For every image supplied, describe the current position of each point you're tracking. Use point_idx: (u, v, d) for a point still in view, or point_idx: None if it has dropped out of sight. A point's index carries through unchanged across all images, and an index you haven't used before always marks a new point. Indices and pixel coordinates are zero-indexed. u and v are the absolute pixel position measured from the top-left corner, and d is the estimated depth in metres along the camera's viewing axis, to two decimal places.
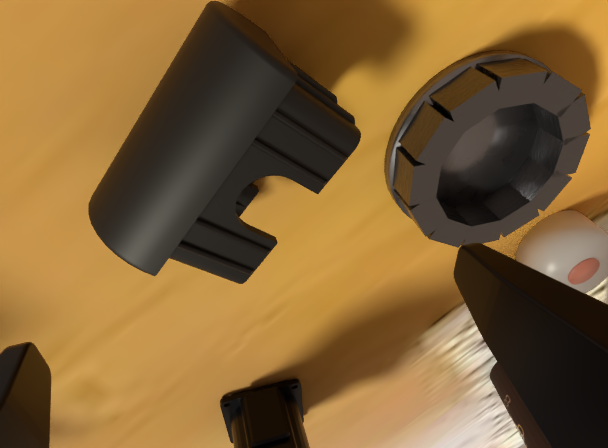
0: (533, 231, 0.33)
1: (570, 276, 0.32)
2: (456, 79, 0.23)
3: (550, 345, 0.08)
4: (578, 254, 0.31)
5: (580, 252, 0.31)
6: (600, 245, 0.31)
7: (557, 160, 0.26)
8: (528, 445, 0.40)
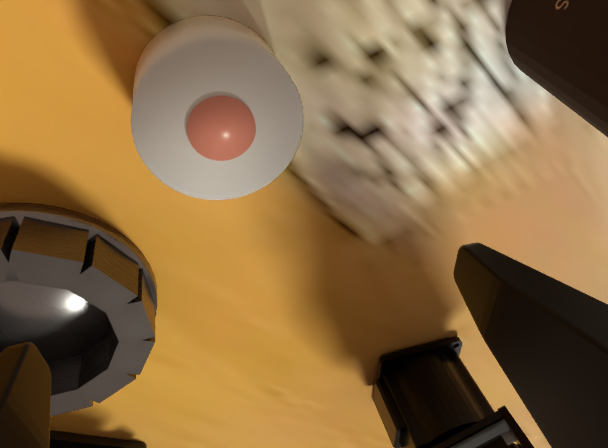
0: None
1: (229, 158, 0.17)
2: None
3: (550, 345, 0.08)
4: (175, 163, 0.16)
5: (170, 161, 0.16)
6: (152, 123, 0.15)
7: None
8: None
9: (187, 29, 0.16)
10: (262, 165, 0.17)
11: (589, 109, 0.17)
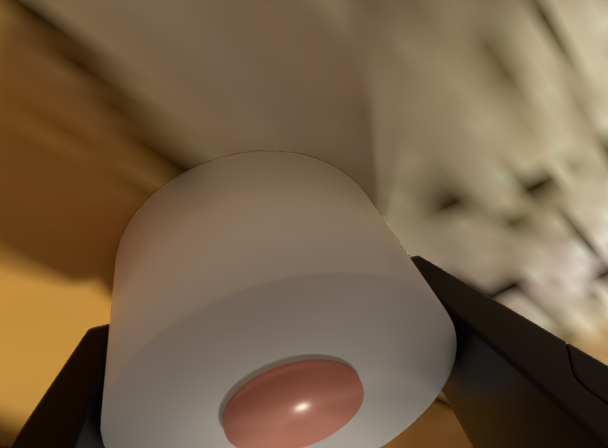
0: None
1: (304, 445, 0.08)
2: None
3: (477, 365, 0.08)
4: None
5: None
6: (149, 425, 0.07)
7: None
8: None
9: (223, 211, 0.07)
10: (363, 435, 0.09)
11: None
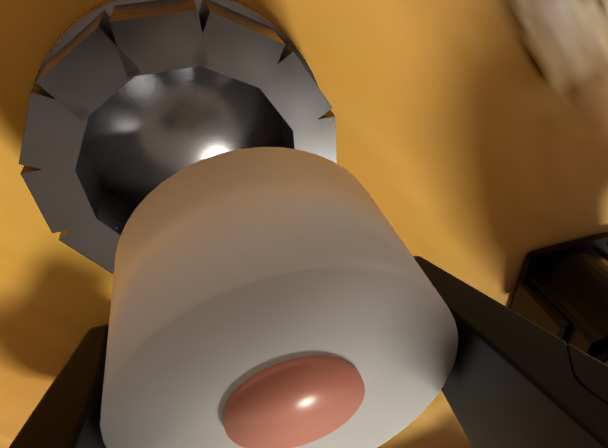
0: None
1: (305, 442, 0.08)
2: None
3: (477, 365, 0.08)
4: None
5: None
6: (149, 421, 0.07)
7: (171, 70, 0.14)
8: None
9: (224, 206, 0.07)
10: (364, 433, 0.09)
11: None
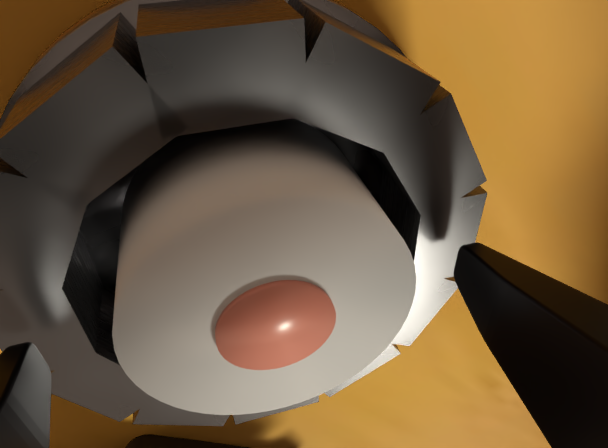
0: None
1: (286, 364, 0.10)
2: None
3: (550, 345, 0.08)
4: (192, 380, 0.09)
5: (184, 378, 0.09)
6: (152, 334, 0.08)
7: (242, 125, 0.08)
8: None
9: (215, 155, 0.08)
10: (339, 361, 0.10)
11: None
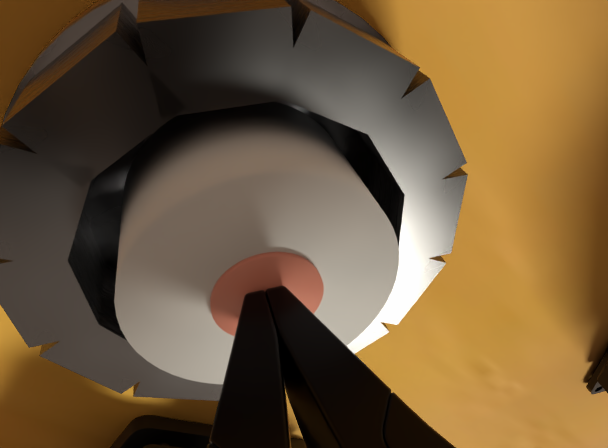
0: None
1: None
2: None
3: (310, 412, 0.07)
4: (189, 348, 0.10)
5: (182, 346, 0.10)
6: (152, 302, 0.09)
7: (236, 106, 0.08)
8: None
9: (210, 136, 0.09)
10: None
11: None
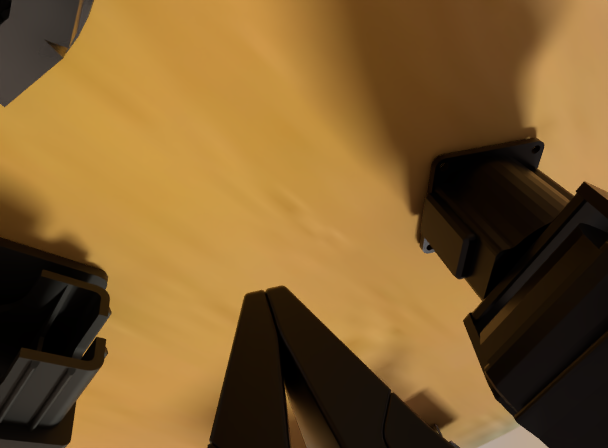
0: None
1: None
2: None
3: (309, 412, 0.07)
4: None
5: None
6: None
7: None
8: None
9: None
10: None
11: None
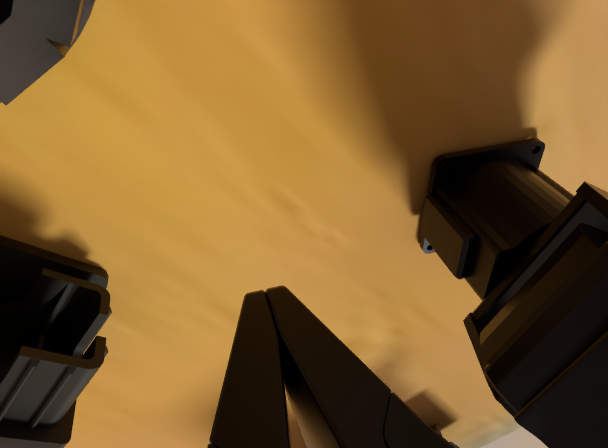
0: None
1: None
2: None
3: (309, 412, 0.07)
4: None
5: None
6: None
7: None
8: None
9: None
10: None
11: None
